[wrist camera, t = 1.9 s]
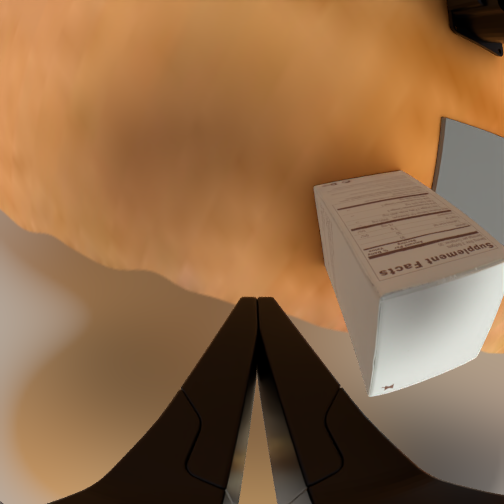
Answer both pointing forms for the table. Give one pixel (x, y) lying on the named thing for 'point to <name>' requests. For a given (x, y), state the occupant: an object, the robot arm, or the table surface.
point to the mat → (472, 174)
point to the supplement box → (407, 277)
